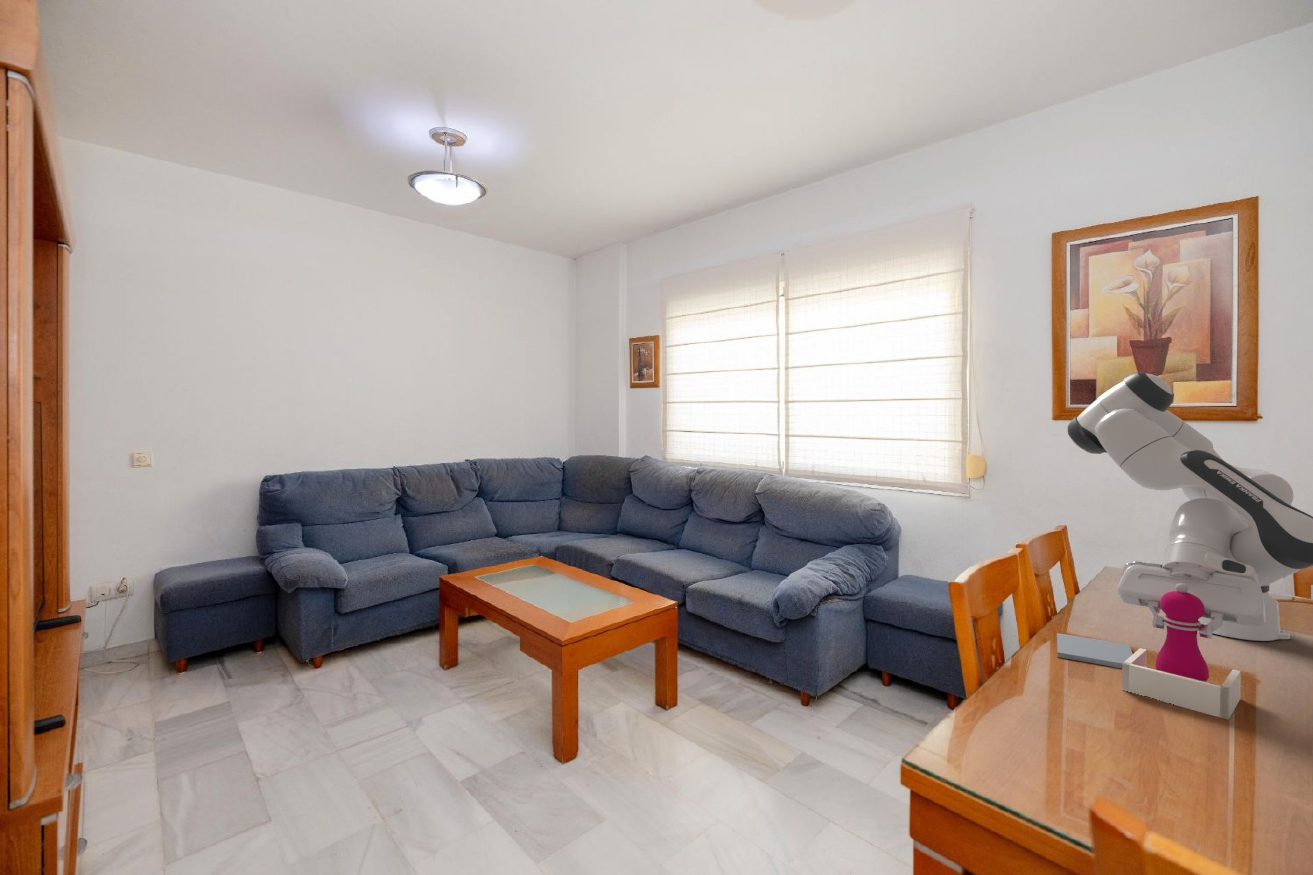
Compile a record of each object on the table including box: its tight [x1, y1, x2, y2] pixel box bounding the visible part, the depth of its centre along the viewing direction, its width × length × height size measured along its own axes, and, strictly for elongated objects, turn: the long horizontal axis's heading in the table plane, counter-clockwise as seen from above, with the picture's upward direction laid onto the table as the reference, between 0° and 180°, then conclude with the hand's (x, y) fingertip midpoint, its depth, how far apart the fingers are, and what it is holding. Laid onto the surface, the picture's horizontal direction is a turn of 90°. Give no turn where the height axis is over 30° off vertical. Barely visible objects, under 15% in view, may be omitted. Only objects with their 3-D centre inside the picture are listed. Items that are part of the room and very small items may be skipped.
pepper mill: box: [1155, 583, 1210, 682], centre depth 105 cm, size 7×7×20 cm
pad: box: [1056, 633, 1134, 669], centre depth 124 cm, size 14×13×1 cm
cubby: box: [1121, 647, 1242, 721], centre depth 105 cm, size 12×14×5 cm
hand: (1181, 631), depth 105 cm, fingers closed on pepper mill, 5 cm apart
